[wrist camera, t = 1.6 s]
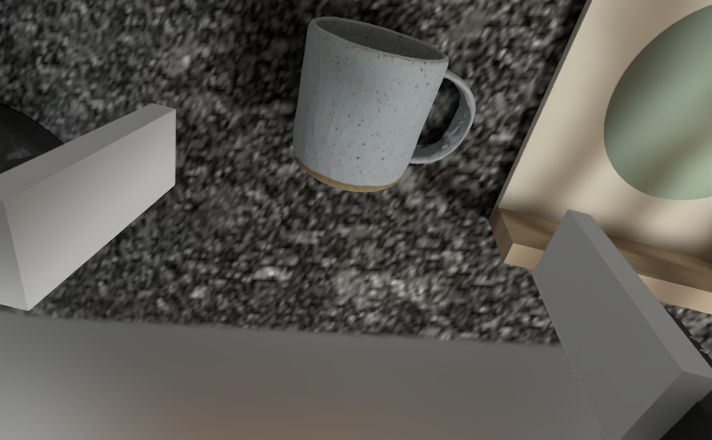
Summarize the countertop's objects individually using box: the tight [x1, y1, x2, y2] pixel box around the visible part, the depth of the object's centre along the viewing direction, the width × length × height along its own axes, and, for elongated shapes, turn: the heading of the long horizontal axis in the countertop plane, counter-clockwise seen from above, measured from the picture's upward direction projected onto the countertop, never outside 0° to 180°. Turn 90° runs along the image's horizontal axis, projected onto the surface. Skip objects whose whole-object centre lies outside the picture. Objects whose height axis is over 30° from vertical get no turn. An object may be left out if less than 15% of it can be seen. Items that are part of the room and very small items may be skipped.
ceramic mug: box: [293, 17, 476, 192], centre depth 24 cm, size 11×8×8 cm
